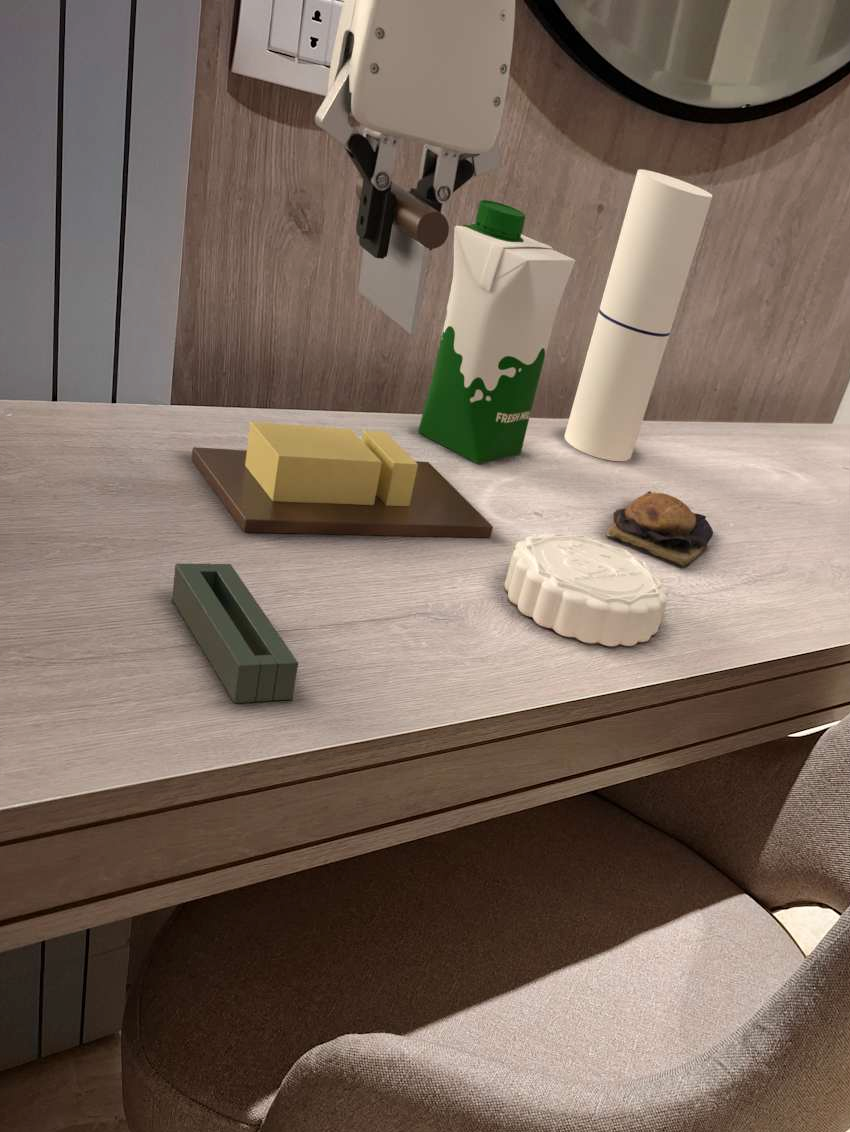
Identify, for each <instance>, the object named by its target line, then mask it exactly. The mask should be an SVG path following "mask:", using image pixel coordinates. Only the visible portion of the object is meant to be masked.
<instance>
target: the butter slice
mask: <svg viewBox="0 0 850 1132" xmlns="http://www.w3.org/2000/svg"><path fill="white" fill-rule="evenodd" d="M360 439H361V441H362V442H363V443H364V444H365V445H366V446H367V447H368V448H369V449H370V450H371V451H372V452H373V453H374V454H375V455H376V456H377V457H378V459H379V460H380V461H381V462H382V465H381V470H380V475H379V481H378V486H377V491H376V495H377V496H378V497H379V498H380V499H381V500H382V501H383V503H384V504H385V505H386V506H409V505H410V500H411V495H412V491H413V486H414V481H415V476H416V471H417V467H418V464H417V463H416V462H415V461H416V460H414V459H413V457H411V455H410V454H409V453H407V452H406V450H405V449H403V447H401V445H399V444H398V442H397V441H395V440H394V438H392V436H391V435H390V434H388V432H387V431H379V430H378V431H377V430H362V435H361V438H360Z"/></svg>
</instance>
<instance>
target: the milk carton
mask: <svg viewBox="0 0 850 1132" xmlns="http://www.w3.org/2000/svg"><path fill="white" fill-rule="evenodd" d="M525 221H526V214H525V213H524V212H523V211H521V210H519V209H517V208H514V207H512V206H510V205H507V204H504V203H501V202H497V201H492V200H487V199H481V200H480V201H479V202H478V207H477V212H476V216H475V221H474V223H471V224H470V225H469V224H462V225H455V226H454V228H453V231H454V233H453V235H454V236H453V269H452V270H453V273H452V281H451V286H450V291H449V297H448V301H447V305H446V311H445V316H444V320H443V325H442V330H441V335H440V340H439V344H438V349H437V354H436V360H435V364H434V368H433V374H432V377H431V382H430V385H429V390H428V394H427V397H426V400H425V405H424V408H423V411H422V414H421V419H420V423H419V427H418V430H417V433H418V434H420V435H422V436H424V437H426V438H428V439H430V440H431V441H434V442H436V443H437V444H439V445H441V446H443V447H445V448H447V449H449V450H451V451H452V452H455V453H456V454H458V455H460V456H462V457H464V458H466V459H468V460H469V461H471V462H474V463H475V464H477V465H479V464H483V463H488V462H492V461H496V460H501V459H506V458H509V457H514V456H517V455H521V454H522V451H523V447H524V442H525V437H526V434H527V429H528V426H529V421H530V417H531V413H532V409H533V405H534V401H535V396H536V393H537V389H538V384H539V381H540V377H541V375H542V374H541V373H542V370H543V365H544V362H545V358H546V354H547V351H548V346H549V343H550V338H551V334H552V331H553V328H554V323H555V318H556V315H557V313H558V309H559V306H560V303H561V300H562V298H563V294H564V293H565V289H566V287H567V284H568V281H569V279H570V276H571V274H572V271H573V268H574V266H575V263H576V259H574V258H572V257H570V256H568V255H565V254H563V253H561V252H559V251H557V250H555V249H554V247H552V246H551V245H549V244H546V243H545V242H544V243H543V242H540V241H538V240H535V239H533V238H530V237H528V236H526V235H524V234H523V229H524V226H525Z"/></svg>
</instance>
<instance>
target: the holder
mask: <svg viewBox="0 0 850 1132" xmlns="http://www.w3.org/2000/svg"><path fill="white" fill-rule="evenodd" d="M174 566H175V567H174V576H173V586H172V597H171V599H172V602H173V603H174V605H175V607H176V609H177V610H178V612H179V613H180V615H181V617H182V618H183V620H184V622H185V623H186V625H187V627H188V628H189V630H190V632H191V634H192V635H193V637H194V639H195V640H196V642H197V643H198V645H199V646H200V649H201V650H202V651H203V653H204V655H205V656H206V658H207V660H208V662H209V664H210V665H211V666H212V668H213V670H214V671H215V674H216V675H217V676H218V678H219V680H220V681H221V683H222V685H223V686H224V688H225V690H226V692H227V693H228V695H229V697H230V698H231V699H232V701H233V703H234V704H245V703H255V702H257V703H258V702H272V701H273V702H274V701H291V700H293V699H294V693H295V687H296V680H297V675H298V668H299V661H298V660H297V659H296V657H295V656H294V654H293V653H292V651H291V650H290V648H289V647H288V646H287V644H286V642H285V641H284V640H283V638H282V637H281V635H280V634H279V632H278V631H277V630H276V627H274V625H273V624H272V623H271V621H270V619H269V618H268V616H267V614H266V613H265V612H264V610H263V609H262V607H261V606H260V605H259V604H258V602H257V600H256V599H255V597H254V596H253V594H252V593H251V591H250V590H249V589H248V586H246V584H245V583H244V581H243V580H242V578H241V577H240V575H239V574H238V572H237V571H236V570H235V568H234V567H233V566H232V564H231V563H182V562H181V563H180V562H179V563H175V565H174Z"/></svg>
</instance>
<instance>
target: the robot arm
mask: <svg viewBox="0 0 850 1132" xmlns="http://www.w3.org/2000/svg"><path fill="white" fill-rule="evenodd" d="M515 17H516V0H343V3H342V7H341V12H340V16H339V21H338V26H337V30H336V35H335V40H334V45H333V50H332V56H331V62H330V68H329V75H328V81H327V82H328V83H327V94H326V95H325V97H324V99H323V101H322V102H321V104H320V106H319V108H318V109H317V111H316V113H315V115H314V122H315V125H316V126H317V127H318V128H319V129H320V130H322V131H323V132H325V133H326V134H327V135H328V136H329V137H331V138H332V139H333V140H334V141H336V142H337V143H338V144H340V146H341V147H343V148H344V150H345V151H346V153H347V155H348V156H349V158H350V159H351V161H352V163H353V165H354V166H355V168H356V172H357V174H358V176H359V177H361V178H363V184H362V191H361V197H360V200H359V203H358V210H357V218H356V222H355V223H356V224H355V231H356V234H357V236H358V244H359V246H360V247H361V248H362V249H365V250H366V251H368V252H369V253H370V254H371V255H372V256H374V257H375V258H380V259H383V258H384V257H386V256H387V253H388V247H389V242H390V236H391V230H392V224H393V218H394V209H395V207H396V196H395V194H394V193H392V192H391V191H390V190H391V185H392V182H393V176H394V170H395V166H396V160H397V155H398V149H399V145H400V139H404V140H407V141H413V142H415V143H421V144H423V149H422V154H421V159H420V166H419V173H418V180H417V183H416V188H413V187H410V190H409V191H408V192H409V193H410V194H412V195H413V196H415V197H417V198H418V199H420V200H421V201H423V202H424V203H426V204H427V205H429V206H431V207H432V208H434V209H435V210H437V211H438V212H440V213H442V207H443V204H448V203H449V202H450V201H451V200H452V197H453V194H454V193H455V192H456V191H457V190H459V189H460V188H461V187H462V186H463V185H465V184H466V183H467V182H468V181H470V180H471V179H472V178H474V177H479V176H483V175H487V174H490V173H493V172H496V171H498V170H500V169H501V166H502V156H501V148H500V141H499V134H498V133H499V131H500V125H501V122H502V117H503V113H504V109H505V108H504V107H505V102H506V97H507V92H508V91H507V90H508V85H509V84H508V83H509V77H510V70H511V62H512V53H513V45H514V44H513V43H514V32H515V19H516V18H515ZM349 116H351V117H353V118H354V119H355V120H356V122H357V123H359V124H360V125H361V126H363V130H362V134H361V132H359V131H358V130H357V129H355V128H354V127H353V126H352V125H351V123H350V120H349ZM432 250H433V249H429V252H431V251H432Z"/></svg>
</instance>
